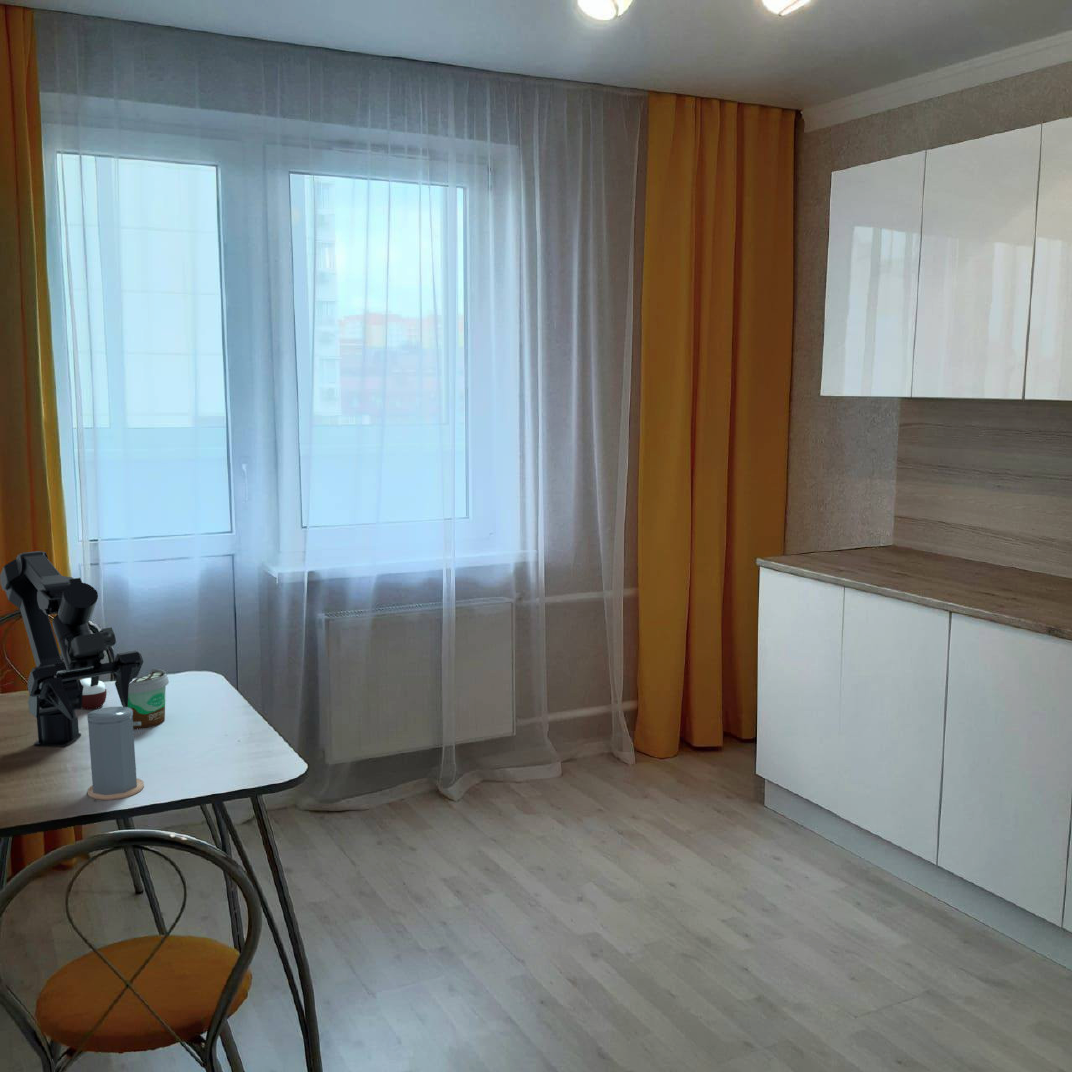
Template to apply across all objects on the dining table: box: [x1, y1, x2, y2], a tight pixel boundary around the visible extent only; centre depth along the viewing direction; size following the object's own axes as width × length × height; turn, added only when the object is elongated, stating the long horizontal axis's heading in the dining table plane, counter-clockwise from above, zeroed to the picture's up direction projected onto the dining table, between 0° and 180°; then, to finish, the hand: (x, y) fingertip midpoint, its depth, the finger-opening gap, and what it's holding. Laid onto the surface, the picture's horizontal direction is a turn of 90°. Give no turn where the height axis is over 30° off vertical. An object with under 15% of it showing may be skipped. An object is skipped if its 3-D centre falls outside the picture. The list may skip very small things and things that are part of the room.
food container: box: [128, 667, 170, 731], centre depth 219 cm, size 12×6×10 cm, turn 168°
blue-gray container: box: [86, 706, 138, 795], centre depth 183 cm, size 7×7×13 cm
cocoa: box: [79, 660, 107, 711], centre depth 230 cm, size 10×6×12 cm, turn 24°
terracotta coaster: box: [87, 777, 145, 801], centre depth 184 cm, size 9×9×1 cm
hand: (99, 713), depth 186 cm, fingers open, 9 cm apart
